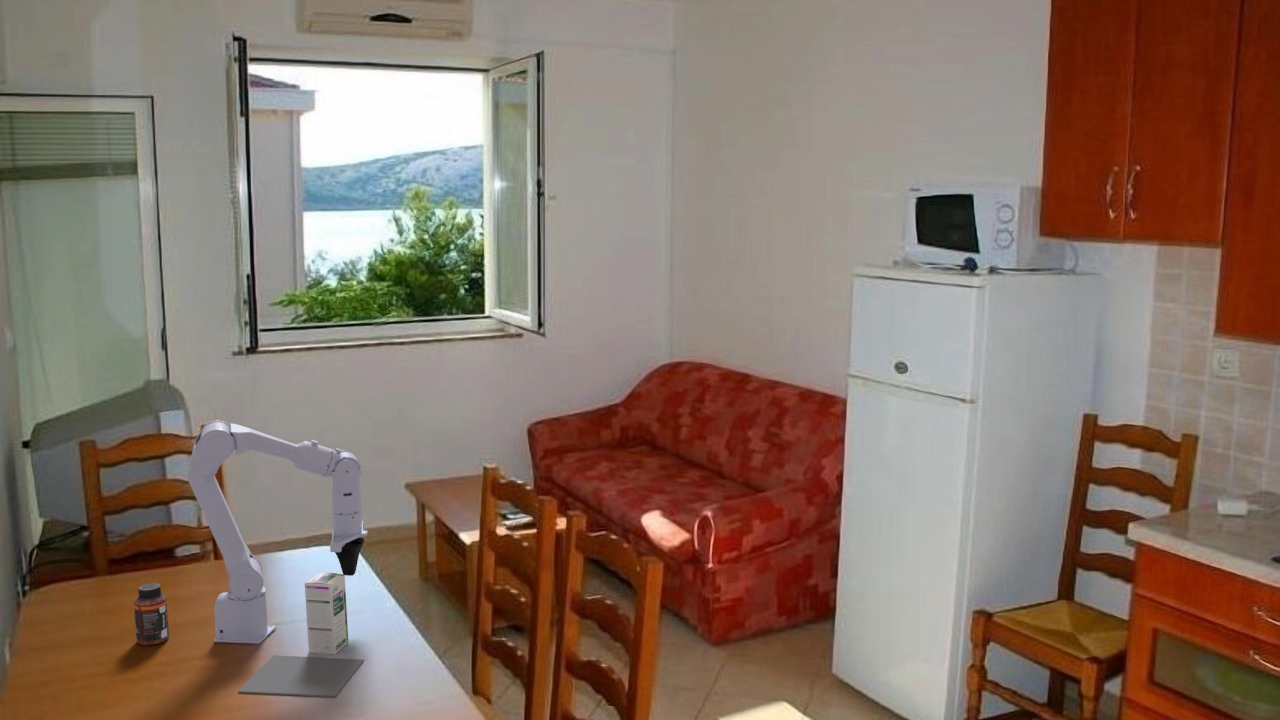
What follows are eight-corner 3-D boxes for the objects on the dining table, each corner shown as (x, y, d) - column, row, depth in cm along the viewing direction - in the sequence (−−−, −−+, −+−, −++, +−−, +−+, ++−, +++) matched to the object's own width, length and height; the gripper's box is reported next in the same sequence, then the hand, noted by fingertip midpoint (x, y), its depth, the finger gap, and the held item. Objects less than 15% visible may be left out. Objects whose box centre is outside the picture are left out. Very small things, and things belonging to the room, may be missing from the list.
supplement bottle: (174, 640, 213) (171, 586, 211) (144, 649, 209) (140, 594, 207) (161, 631, 217) (158, 578, 215) (131, 640, 213) (127, 586, 211)
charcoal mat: (237, 692, 191) (237, 691, 191) (273, 656, 206) (273, 655, 206) (335, 697, 189) (335, 695, 189) (364, 660, 204) (364, 659, 204)
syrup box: (335, 655, 206) (332, 584, 204) (307, 652, 208) (304, 581, 205) (348, 643, 212) (346, 573, 210) (321, 640, 213) (318, 571, 211)
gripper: (353, 522, 211) (356, 587, 213) (377, 501, 225) (379, 562, 228) (319, 521, 212) (321, 586, 214) (345, 500, 226) (347, 561, 228)
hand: (349, 574), depth 221 cm, fingers closed
